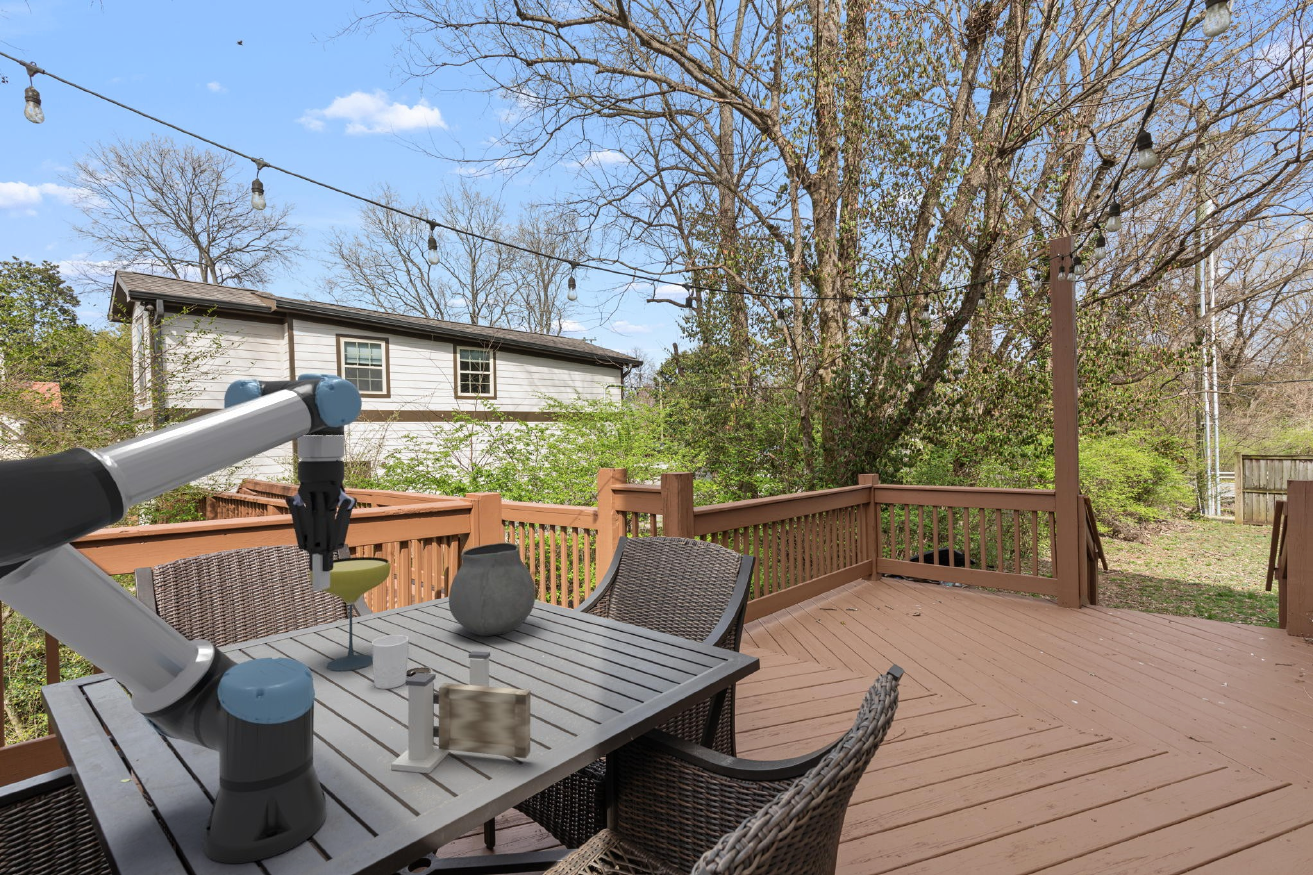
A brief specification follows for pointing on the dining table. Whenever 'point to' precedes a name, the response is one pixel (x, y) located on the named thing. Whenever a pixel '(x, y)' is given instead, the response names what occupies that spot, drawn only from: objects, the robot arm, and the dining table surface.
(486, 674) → the latch post
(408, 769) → the hinge post
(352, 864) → the dining table surface
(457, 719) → the gate
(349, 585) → the cocktail glass
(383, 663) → the white cup
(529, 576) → the ceramic pot
